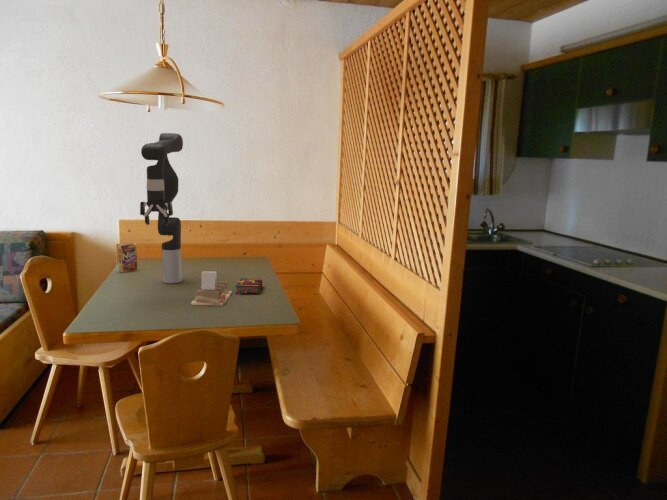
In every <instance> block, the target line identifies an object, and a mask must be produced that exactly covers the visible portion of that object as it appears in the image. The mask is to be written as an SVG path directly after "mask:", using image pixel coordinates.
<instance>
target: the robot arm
mask: <svg viewBox="0 0 667 500" xmlns="http://www.w3.org/2000/svg"><path fill="white" fill-rule="evenodd" d="M183 146H184V139H183V137H182V135H181V134H179V133H171V132H170V133H169V132H162V133H160V134H159V138H158V141H155V142H149V143H145V144H144V145H143V146H141V149H140V153H141V156H142V158H143V159H144V160H147V161H156V163H155V164H153V165H149V166H147V167H146V196H147V197H146V201H141V202H140V204H139V208H140V209H139V215H140V216H144V223H145V224H146V226H147V225H148V226H149V225H150V216H149V215H150V214H151V213H152V212H155V213H157V212H158V214H157V215H158V216H157V232H158V234H159V235H160V236H168V237H169V236H172V238H171V239H170V240H167V241H164V242H163V243H161V258H162V260H161V261H162V262H161V263H162V282H163V283H164V284H177V283H181V282H182V281H183V279H182V277H183V275H182V274H183V273H182V254H181V253H182V248H181V247H182V246H181V245H182V237H181V236H182V224H181V223H182V222H181V219H180V218H179V217H175V216H174V217H173V215H174V211H173V210H174V209H173V201H174V200H175V198H176V197H177V195H178V194H179V193H178V192H179V177H178V175H177V173H176V171H175V169H174V168H173V166H172V165H171V163H170V160H169V157H168V155H169V154H171V153H179V152H181V151H182V150H183ZM146 206H147V207H148V208H147V210H146ZM145 210H146V211H145ZM171 216H172V217H171Z"/></svg>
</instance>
